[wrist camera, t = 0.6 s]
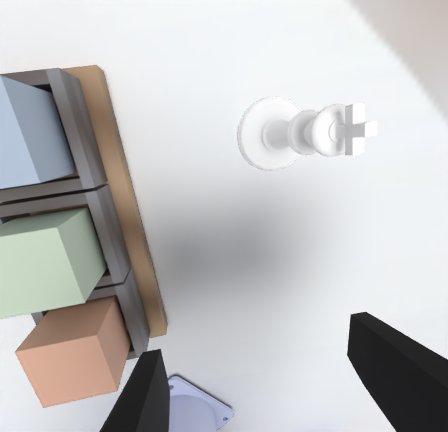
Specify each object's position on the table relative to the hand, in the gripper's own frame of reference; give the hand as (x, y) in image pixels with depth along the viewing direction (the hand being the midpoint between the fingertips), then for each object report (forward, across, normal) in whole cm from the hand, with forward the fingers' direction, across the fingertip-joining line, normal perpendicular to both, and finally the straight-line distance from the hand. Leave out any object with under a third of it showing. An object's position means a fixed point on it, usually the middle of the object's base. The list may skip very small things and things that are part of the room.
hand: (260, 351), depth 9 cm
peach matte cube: (+8, +10, +4) cm, 13 cm away
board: (+11, +10, -2) cm, 15 cm away
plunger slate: (+8, +10, -8) cm, 15 cm away
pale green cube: (+8, +10, -2) cm, 13 cm away
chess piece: (+11, -4, -7) cm, 14 cm away
